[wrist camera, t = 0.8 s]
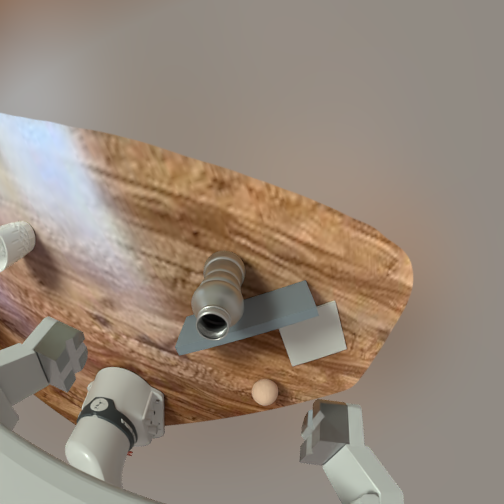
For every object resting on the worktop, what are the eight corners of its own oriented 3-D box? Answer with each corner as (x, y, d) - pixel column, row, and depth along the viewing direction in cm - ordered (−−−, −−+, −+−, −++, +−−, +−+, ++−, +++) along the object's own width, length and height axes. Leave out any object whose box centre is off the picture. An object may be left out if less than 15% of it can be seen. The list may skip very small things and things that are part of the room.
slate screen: (314, 309, 56) (325, 339, 46) (199, 343, 58) (191, 376, 48) (305, 280, 54) (316, 306, 44) (186, 316, 56) (175, 347, 46)
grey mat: (346, 347, 58) (346, 348, 58) (292, 365, 59) (292, 366, 59) (334, 300, 55) (335, 301, 55) (275, 319, 56) (275, 320, 56)
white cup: (41, 226, 51) (9, 240, 42) (34, 261, 53) (5, 279, 44) (14, 211, 50) (-18, 222, 41) (9, 246, 52) (-21, 261, 43)
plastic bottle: (213, 241, 52) (191, 291, 33) (252, 255, 53) (252, 313, 34) (200, 275, 54) (175, 339, 35) (238, 289, 54) (231, 358, 35)
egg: (251, 373, 60) (251, 393, 54) (277, 373, 60) (279, 392, 54) (252, 392, 61) (252, 411, 56) (277, 391, 61) (278, 411, 56)
